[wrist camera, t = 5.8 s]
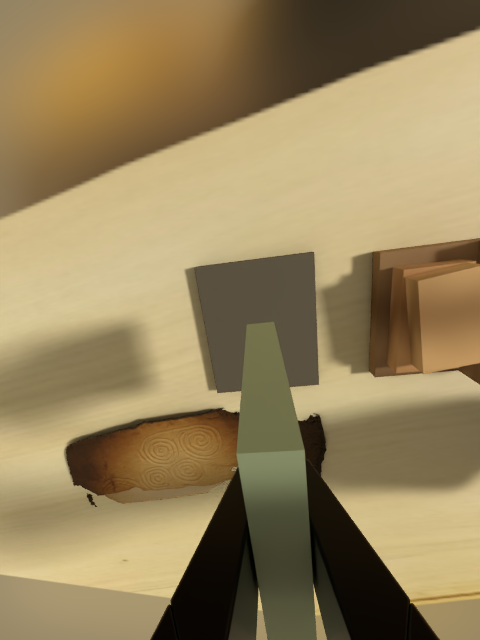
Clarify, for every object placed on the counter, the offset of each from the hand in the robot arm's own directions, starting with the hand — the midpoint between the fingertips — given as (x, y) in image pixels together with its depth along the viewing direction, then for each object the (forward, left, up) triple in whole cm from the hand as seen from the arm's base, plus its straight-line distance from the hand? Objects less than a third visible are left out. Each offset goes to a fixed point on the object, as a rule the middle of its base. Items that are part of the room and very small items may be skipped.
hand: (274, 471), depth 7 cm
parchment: (-12, +8, -13) cm, 19 cm away
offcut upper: (0, -11, -10) cm, 15 cm away
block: (0, 0, -5) cm, 5 cm away
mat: (0, 0, -12) cm, 12 cm away
